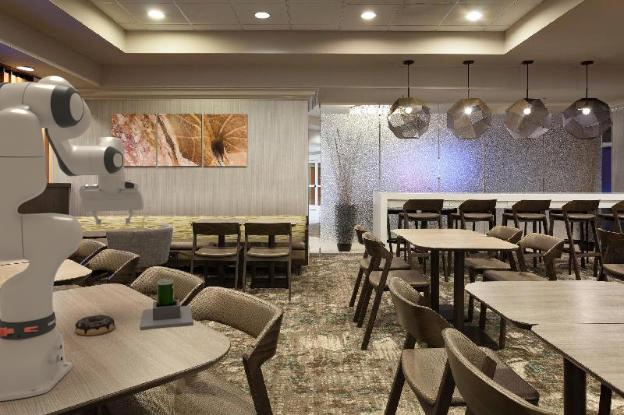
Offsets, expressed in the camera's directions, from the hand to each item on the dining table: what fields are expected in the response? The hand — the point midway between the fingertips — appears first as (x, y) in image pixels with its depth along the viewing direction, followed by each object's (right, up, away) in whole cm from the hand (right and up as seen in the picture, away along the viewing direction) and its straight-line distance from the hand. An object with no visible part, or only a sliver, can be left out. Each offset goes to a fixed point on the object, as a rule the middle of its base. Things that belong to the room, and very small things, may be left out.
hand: (113, 224), depth 169 cm
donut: (+2, -33, -18) cm, 38 cm away
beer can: (+20, -31, -6) cm, 37 cm away
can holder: (+21, -32, -6) cm, 38 cm away
